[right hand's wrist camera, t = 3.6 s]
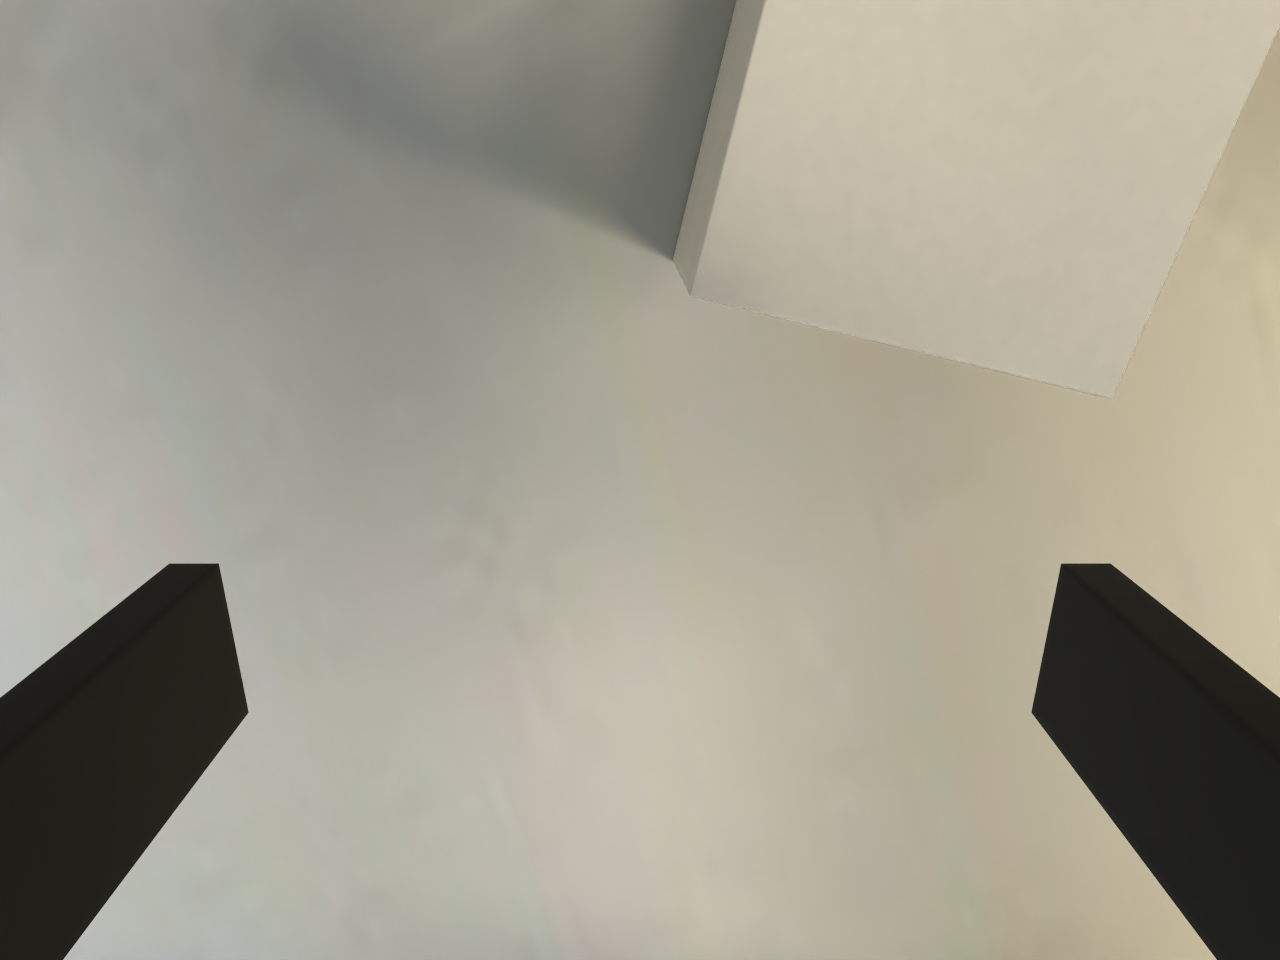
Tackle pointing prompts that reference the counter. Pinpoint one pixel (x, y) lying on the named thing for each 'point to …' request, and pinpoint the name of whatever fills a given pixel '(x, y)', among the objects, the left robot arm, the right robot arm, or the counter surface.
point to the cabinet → (967, 170)
